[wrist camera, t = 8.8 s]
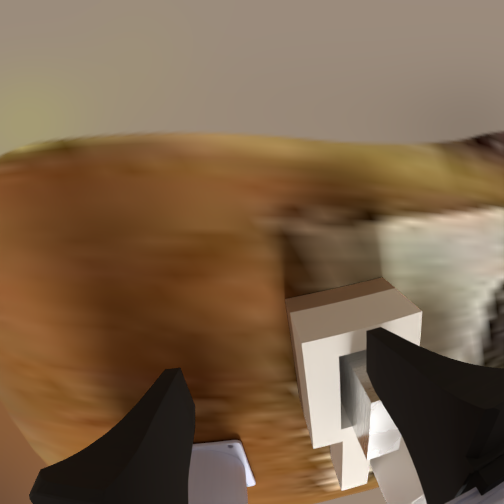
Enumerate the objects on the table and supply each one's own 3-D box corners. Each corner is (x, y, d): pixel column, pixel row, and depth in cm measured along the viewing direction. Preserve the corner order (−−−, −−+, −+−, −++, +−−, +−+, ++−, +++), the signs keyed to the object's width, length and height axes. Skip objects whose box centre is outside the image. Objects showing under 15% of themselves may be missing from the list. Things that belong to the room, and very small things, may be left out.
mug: (469, 371, 25) (527, 432, 15) (450, 425, 27) (492, 485, 17) (364, 405, 24) (409, 495, 14) (355, 458, 27) (385, 535, 17)
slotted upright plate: (307, 462, 26) (318, 505, 21) (284, 299, 21) (301, 343, 16) (375, 443, 26) (393, 482, 21) (382, 277, 21) (422, 311, 16)
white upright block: (335, 388, 21) (366, 460, 14) (331, 331, 20) (371, 403, 13) (361, 381, 21) (398, 449, 14) (361, 323, 20) (409, 389, 13)
